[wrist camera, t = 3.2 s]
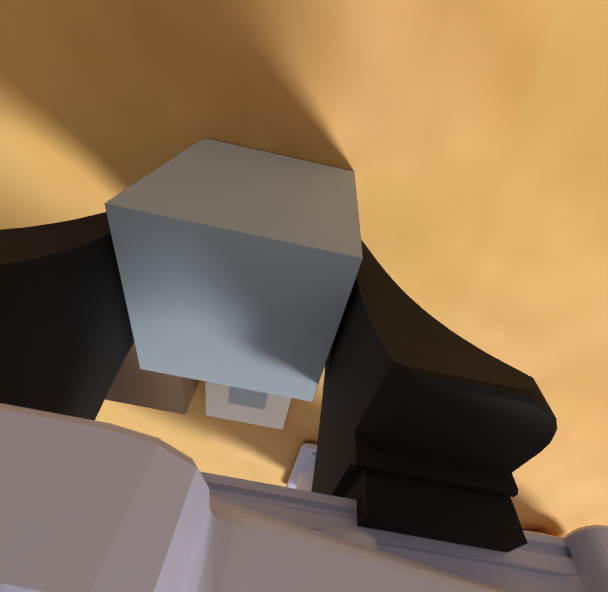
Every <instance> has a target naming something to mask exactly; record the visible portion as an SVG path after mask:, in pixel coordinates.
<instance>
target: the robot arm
mask: <svg viewBox="0 0 608 592" xmlns="http://www.w3.org/2000/svg"><path fill="white" fill-rule="evenodd" d="M361 245H362V256H363V259H362V262H361V264H360V267H359V270H358V273H357V276H356V279H355V281H354V284H353V287H352V290H351V293H350V295H349V298H348V301H347V304H346V307H345V310H344V312H343V315H342V318H341V321H340V324H339V327H338V329H337V332H336V335H335V338H334V341H333V343H332V346H331V349H330V352H329V355H328V358H327V360H326V363H325V376H324V387H323V397H322V407H321V416H320V425H319V434H318V442H317V445H316V444H311V443H305V444H303V445H302V446H301V448H300V451H299V453H298V456H297V459H296V461H295V464H294V467H293V469H292V472H291V475H290V477H289V480H288V483H287V485H286V487H282V486H277V485H271V484H266V483H260V482H255V481H249V480H244V479H238V478H233V477H227V476H221V475H216V474H210V473H205V472H200V471H199V469H198V468H197V466H196V464H195V463H194V461H193V460H192V458H190V457H188V456H187V455H185V454H183V453H182V452H180V451H179V450H177V449H175V448H174V447H172V446H170V445H169V444H167V443H165V442H164V441H162V440H161V439H159V438H156V437H153V436H150V435H147V434H143V433H140V432H137V431H133V430H130V429H127V428H124V427H120V426H117V425H114V424H110V423H105V422H100V421H94V420H95V418H96V416H97V414H98V412H99V410H100V408H101V406H102V404H103V402H104V399H105V397H106V395H107V393H108V391H109V389H110V387H111V385H112V383H113V381H114V379H115V377H116V375H117V373H118V371H119V369H120V367H121V366H122V364H123V362H124V360H125V358H126V356H127V354H128V353H129V351H130V349H131V347H132V345H133V344H134V337H133V332H132V328H131V323H130V319H129V314H128V309H127V305H126V300H125V296H124V291H123V286H122V282H121V277H120V272H119V268H118V263H117V259H116V254H115V249H114V245H113V240H112V236H111V231H110V226H109V222H108V217H107V213H106V212H105V213H101V214H96V215H92V216H88V217H84V218H79V219H75V220H70V221H64V222H59V223H53V224H46V225H40V226H33V227H25V228H15V229H4V230H0V592H608V526H603V525H593V526H585V527H582V528H578V529H576V530H574V531H572V532H570V533H568V534H567V535H566V536H565V538H564V537H559V536H553V535H548V534H542V533H537V532H531V531H526V530H523V529H522V527H521V524H520V521H519V519H518V516H517V513H516V511H515V508H514V505H513V503H512V500H511V497H514V496H516V495H517V494H518V488H517V485H516V483H515V480H514V478H513V475H512V472H513V471H515V470H516V469H517V468H519V467H520V466H522V465H523V464H524V463H526V462H527V461H529V460H530V459H531V458H533V457H534V456H536V455H537V454H538V453H540V452H541V451H542V450H543V449H544V448H545V447H546V446H547V445H548V444H549V443H550V442H551V440H552V439H553V437H554V435H555V432H556V430H557V422H556V417H555V415H554V414H553V412H552V410H551V408H550V407H549V405H548V403H547V401H546V400H545V398H544V396H543V394H542V393H541V391H540V389H539V387H538V386H537V384H536V382H535V380H534V379H533V378H532V377H530V376H528V375H527V374H525V373H523V372H521V371H519V370H517V369H515V368H513V367H512V366H510V365H508V364H506V363H504V362H502V361H500V360H498V359H496V358H495V357H493V356H491V355H489V354H487V353H486V352H484V351H482V350H481V349H479V348H477V347H476V346H474V345H473V344H471V343H469V342H468V341H466V340H464V339H463V338H461V337H460V336H458V335H457V334H455V333H454V332H452V331H451V330H449V329H448V328H447V327H445V326H444V325H443V324H441V323H440V322H439V321H437V320H436V319H435V318H433V317H432V316H431V315H429V314H428V313H427V312H426V311H425V310H423V309H422V308H421V307H420V306H419V305H418V304H417V303H415V302H414V301H413V300H412V299H411V298H410V297H409V296H408V295H407V294H406V293H405V292H404V291H403V290H402V289H401V288H400V287H399V286H398V285H397V284H396V283H395V282H394V281H393V280H392V278H391V277H390V276H389V275H388V274H387V273H386V271H385V270H384V269H383V268H382V267H381V265H380V264H379V263H378V261H377V260H376V259H375V257H374V256H373V255H372V253H371V252H370V251H369V249H368V248H367V247H366V245H365V244H364V242H363V241H362V240H361ZM510 496H511V497H510Z"/></svg>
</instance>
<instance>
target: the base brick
mask: <svg viewBox="0 0 608 592" xmlns="http://www.w3.org/2000/svg"><path fill="white" fill-rule="evenodd" d="M197 385H198V380H196V379H191V378H185V377H180V376H175V375H170V374H165V373H159V372H154V371H149V370H144V369H140V365H139V360H138V356H137V351H136V346H135V342H134V344H133V345H132V347H131V349H130V351H129V353H128V354H127V356H126V358H125V360H124V362H123V364H122V366H121V367H120V369H119V371H118V373H117V375H116V377H115V379H114V381H113V383H112V385H111V387H110V389H109V391H108V393H107V395H106V397H105V399H106V400H111V401H116V402H122V403H127V404H132V405H138V406H143V407H148V408H154V409H159V410H164V411H170V412H175V413H180V414H185V413H186V411H187V408H188V406H189V404H190V401H191V399H192V397H193V394H194V392H195V390H196V387H197Z"/></svg>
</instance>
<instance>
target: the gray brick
mask: <svg viewBox="0 0 608 592" xmlns="http://www.w3.org/2000/svg"><path fill="white" fill-rule="evenodd" d="M105 208H106V213H107V217H108V222H109V226H110V231H111V236H112V240H113V245H114V249H115V254H116V259H117V263H118V268H119V272H120V277H121V282H122V286H123V291H124V296H125V300H126V305H127V309H128V314H129V319H130V323H131V328H132V332H133V337H134V342H135V346H136V351H137V356H138V360H139V365H140V369H144V370H149V371H154V372H159V373H165V374H170V375H175V376H180V377H185V378H191V379H196V380H201V381H206V382H211V383H217V384H222V385H227V386H232V387H237V388H243V389H248V390H253V391H258V392H263V393H269V394H274V395H279V396H284V397H289V398H295V399H300V400H305V401H310V402H312V400H313V397H314V394H315V392H316V389H317V386H318V383H319V380H320V377H321V375H322V372H323V369H324V366H325V363H326V360H327V358H328V355H329V352H330V349H331V346H332V343H333V341H334V338H335V335H336V332H337V329H338V327H339V324H340V321H341V318H342V315H343V312H344V310H345V307H346V304H347V301H348V298H349V295H350V293H351V290H352V287H353V284H354V281H355V279H356V276H357V273H358V270H359V267H360V264H361V262H362V259H363V256H362V245H361V235H360V225H359V214H358V204H357V194H356V184H355V173H354V171H350V170H346V169H341V168H337V167H332V166H328V165H323V164H319V163H314V162H310V161H305V160H301V159H296V158H292V157H287V156H283V155H279V154H274V153H270V152H265V151H261V150H256V149H252V148H247V147H243V146H238V145H234V144H229V143H225V142H220V141H216V140H211V139H207V138H203V139H202V140H200V141H198V142H197V143H195V144H194V145H192V146H191V147H189V148H188V149H186V150H185V151H183V152H182V153H180V154H179V155H177V156H176V157H174V158H173V159H171V160H170V161H168V162H166V163H165V164H163V165H162V166H160V167H159V168H157V169H156V170H154V171H153V172H151V173H150V174H148V175H147V176H145V177H144V178H142V179H141V180H139V181H138V182H136V183H135V184H133V185H131V186H130V187H128V188H127V189H125V190H124V191H122V192H121V193H119V194H118V195H116V196H115V197H113V198H112V199H110V200H109V201H107V202H106V203H105Z"/></svg>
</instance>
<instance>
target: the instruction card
mask: <svg viewBox="0 0 608 592" xmlns="http://www.w3.org/2000/svg"><path fill="white" fill-rule="evenodd" d="M205 392H206V416H211V417H217V418H222V419H227V420H233V421H238V422H243V423H249V424H254V425H259V426H265V427H270V428H275V429H281V430H283V427H284V424H285V420H286V416H287V413H288V409H289V406H290V402H291V399H292V398H289V397H284V396H279V395H274V394H269V393H263V392H258V391H253V390H248V389H243V388H237V387H232V386H227V385H222V384H217V383H211V382H206V381H205Z"/></svg>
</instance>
